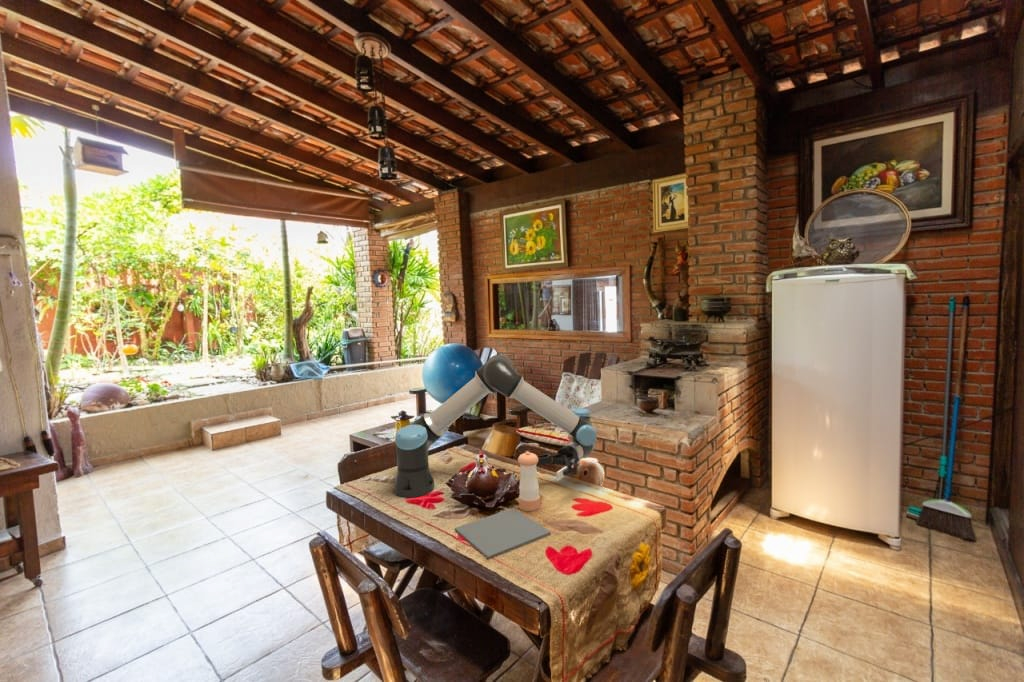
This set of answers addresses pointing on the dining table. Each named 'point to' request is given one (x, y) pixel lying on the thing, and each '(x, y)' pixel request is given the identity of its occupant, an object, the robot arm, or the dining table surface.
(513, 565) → the dining table surface
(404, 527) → the dining table surface
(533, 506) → the pepper shaker
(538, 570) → the dining table surface
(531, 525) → the slate mat
